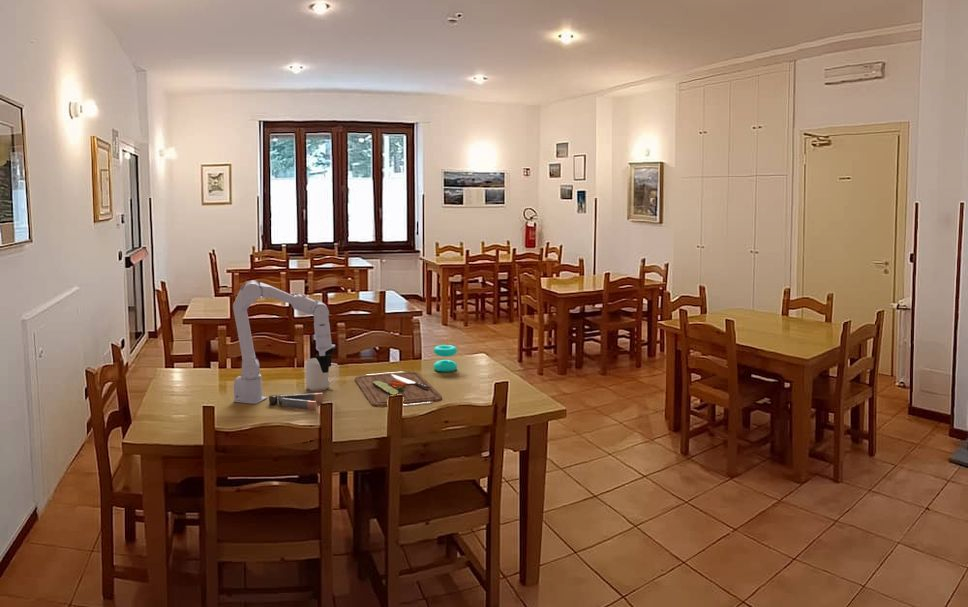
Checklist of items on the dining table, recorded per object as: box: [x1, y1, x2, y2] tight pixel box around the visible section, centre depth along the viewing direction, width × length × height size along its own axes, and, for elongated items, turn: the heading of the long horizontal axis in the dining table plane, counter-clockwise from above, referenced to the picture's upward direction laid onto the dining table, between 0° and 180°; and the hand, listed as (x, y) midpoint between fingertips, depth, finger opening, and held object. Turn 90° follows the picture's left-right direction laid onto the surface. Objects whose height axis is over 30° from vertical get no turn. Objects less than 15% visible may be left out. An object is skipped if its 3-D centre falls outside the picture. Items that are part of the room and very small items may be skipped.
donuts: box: [433, 344, 458, 373], centre depth 322 cm, size 10×10×10 cm
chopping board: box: [354, 371, 443, 407], centre depth 294 cm, size 45×27×3 cm, turn 20°
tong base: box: [268, 394, 317, 411], centre depth 270 cm, size 19×3×3 cm, turn 74°
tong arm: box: [277, 392, 324, 406], centre depth 274 cm, size 16×3×3 cm, turn 104°
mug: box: [305, 357, 338, 392], centre depth 293 cm, size 12×9×11 cm
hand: (326, 369), depth 283 cm, fingers open, 7 cm apart
